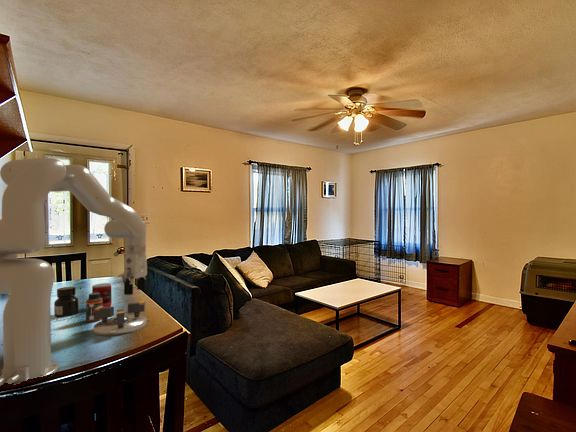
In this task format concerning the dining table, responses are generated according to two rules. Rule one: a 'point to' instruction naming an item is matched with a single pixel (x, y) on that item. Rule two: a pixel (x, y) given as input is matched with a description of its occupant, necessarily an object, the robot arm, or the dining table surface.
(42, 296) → the robot arm
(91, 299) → the supplement bottle
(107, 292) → the canned food
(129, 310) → the grey and orange block
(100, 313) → the orange-tipped grey bar
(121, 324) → the grey chuck jaw
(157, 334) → the dining table surface
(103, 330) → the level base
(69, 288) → the ink bottle
